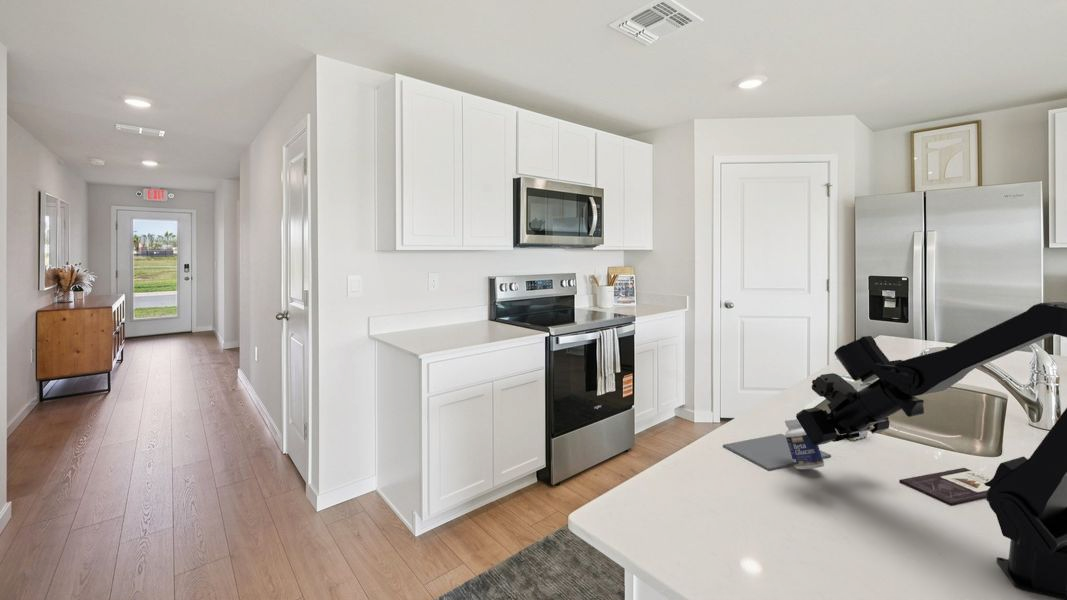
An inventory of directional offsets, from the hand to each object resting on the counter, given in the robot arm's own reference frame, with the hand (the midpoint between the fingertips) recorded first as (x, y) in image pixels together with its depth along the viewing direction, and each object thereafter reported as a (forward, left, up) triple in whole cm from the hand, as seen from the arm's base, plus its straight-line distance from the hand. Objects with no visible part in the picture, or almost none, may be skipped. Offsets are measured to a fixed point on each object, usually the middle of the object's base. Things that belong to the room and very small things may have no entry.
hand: (812, 438), depth 96 cm
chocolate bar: (+6, -25, -8) cm, 27 cm away
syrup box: (+27, -10, -8) cm, 30 cm away
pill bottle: (0, 0, -6) cm, 6 cm away
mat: (+9, +6, -7) cm, 13 cm away
